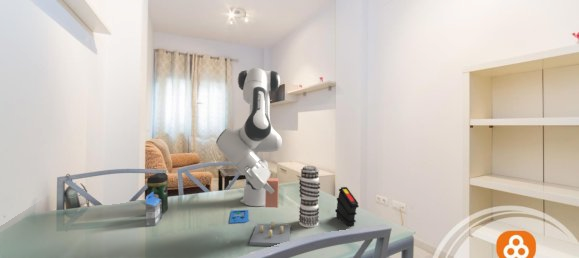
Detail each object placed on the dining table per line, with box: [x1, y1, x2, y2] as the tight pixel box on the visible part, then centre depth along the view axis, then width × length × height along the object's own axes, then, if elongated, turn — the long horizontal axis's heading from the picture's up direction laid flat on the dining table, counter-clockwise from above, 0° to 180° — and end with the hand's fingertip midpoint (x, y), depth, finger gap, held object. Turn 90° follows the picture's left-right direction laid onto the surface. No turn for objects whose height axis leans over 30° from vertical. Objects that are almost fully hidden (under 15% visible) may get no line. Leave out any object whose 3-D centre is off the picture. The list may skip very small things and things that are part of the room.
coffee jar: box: [146, 172, 169, 215], centre depth 116 cm, size 10×8×19 cm
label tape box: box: [145, 191, 163, 227], centre depth 105 cm, size 9×4×12 cm, turn 12°
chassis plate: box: [249, 221, 291, 247], centre depth 94 cm, size 16×14×4 cm
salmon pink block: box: [264, 177, 280, 208], centre depth 94 cm, size 5×5×10 cm
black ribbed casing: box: [335, 186, 360, 227], centre depth 109 cm, size 4×13×15 cm, turn 18°
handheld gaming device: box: [228, 209, 249, 225], centre depth 113 cm, size 8×1×15 cm
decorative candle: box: [298, 165, 321, 228], centre depth 106 cm, size 9×9×25 cm
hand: (273, 190), depth 94 cm, fingers closed on salmon pink block, 5 cm apart
